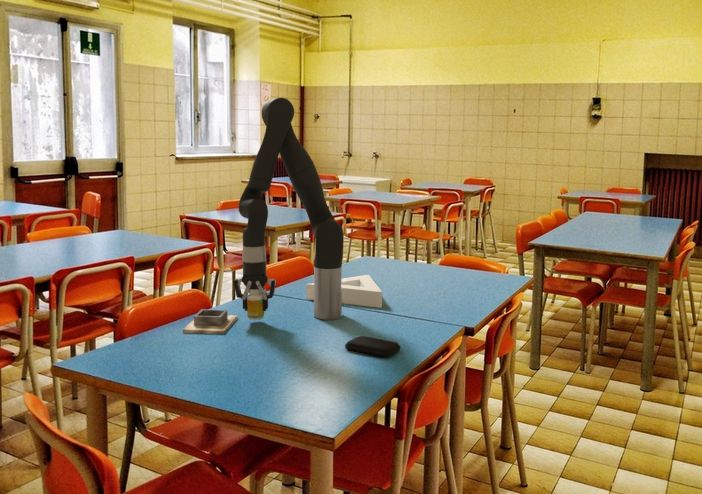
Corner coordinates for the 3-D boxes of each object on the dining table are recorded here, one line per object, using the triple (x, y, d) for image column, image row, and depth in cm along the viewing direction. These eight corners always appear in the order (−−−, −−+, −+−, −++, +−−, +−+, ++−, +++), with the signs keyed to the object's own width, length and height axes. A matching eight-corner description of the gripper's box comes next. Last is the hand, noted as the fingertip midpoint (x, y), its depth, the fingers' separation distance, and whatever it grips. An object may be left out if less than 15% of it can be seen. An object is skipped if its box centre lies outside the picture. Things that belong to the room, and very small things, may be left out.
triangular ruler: (306, 300, 258) (306, 284, 257) (333, 286, 282) (333, 271, 281) (381, 309, 247) (382, 292, 246) (404, 293, 271) (404, 278, 270)
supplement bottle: (261, 320, 222) (260, 290, 221) (245, 319, 223) (244, 290, 222) (266, 315, 228) (265, 287, 226) (250, 315, 229) (249, 286, 227)
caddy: (237, 318, 230) (237, 306, 230) (224, 334, 213) (224, 321, 212) (199, 317, 231) (198, 305, 231) (182, 332, 213) (182, 320, 213)
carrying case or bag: (404, 351, 200) (360, 342, 208) (405, 340, 200) (361, 332, 207) (387, 361, 191) (342, 351, 199) (387, 350, 191) (342, 341, 198)
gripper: (278, 257, 226) (279, 307, 228) (234, 257, 226) (236, 307, 229) (274, 261, 218) (275, 313, 221) (229, 261, 219) (231, 313, 222)
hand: (255, 310), depth 225 cm, fingers closed on supplement bottle, 5 cm apart
